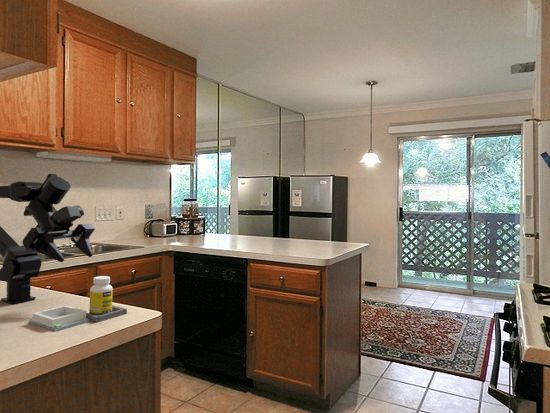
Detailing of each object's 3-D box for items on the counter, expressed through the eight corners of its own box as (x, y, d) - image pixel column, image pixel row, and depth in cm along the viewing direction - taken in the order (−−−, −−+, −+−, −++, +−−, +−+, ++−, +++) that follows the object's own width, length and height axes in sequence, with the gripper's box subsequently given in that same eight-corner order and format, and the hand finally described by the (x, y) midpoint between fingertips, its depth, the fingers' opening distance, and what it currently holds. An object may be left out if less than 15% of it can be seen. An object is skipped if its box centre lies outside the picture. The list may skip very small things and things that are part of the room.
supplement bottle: (103, 318, 99) (104, 280, 99) (84, 316, 100) (85, 278, 100) (116, 312, 104) (117, 276, 104) (98, 310, 105) (99, 274, 105)
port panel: (29, 322, 95) (29, 312, 95) (62, 313, 102) (63, 304, 102) (55, 331, 89) (56, 320, 89) (89, 321, 96) (89, 311, 96)
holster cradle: (74, 315, 100) (74, 311, 100) (104, 307, 108) (104, 303, 108) (96, 322, 96) (96, 317, 96) (126, 313, 104) (126, 308, 104)
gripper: (30, 195, 97) (63, 241, 93) (89, 196, 115) (120, 234, 111) (8, 226, 100) (39, 272, 96) (69, 222, 117) (98, 261, 114)
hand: (77, 258), depth 104 cm, fingers open, 9 cm apart
